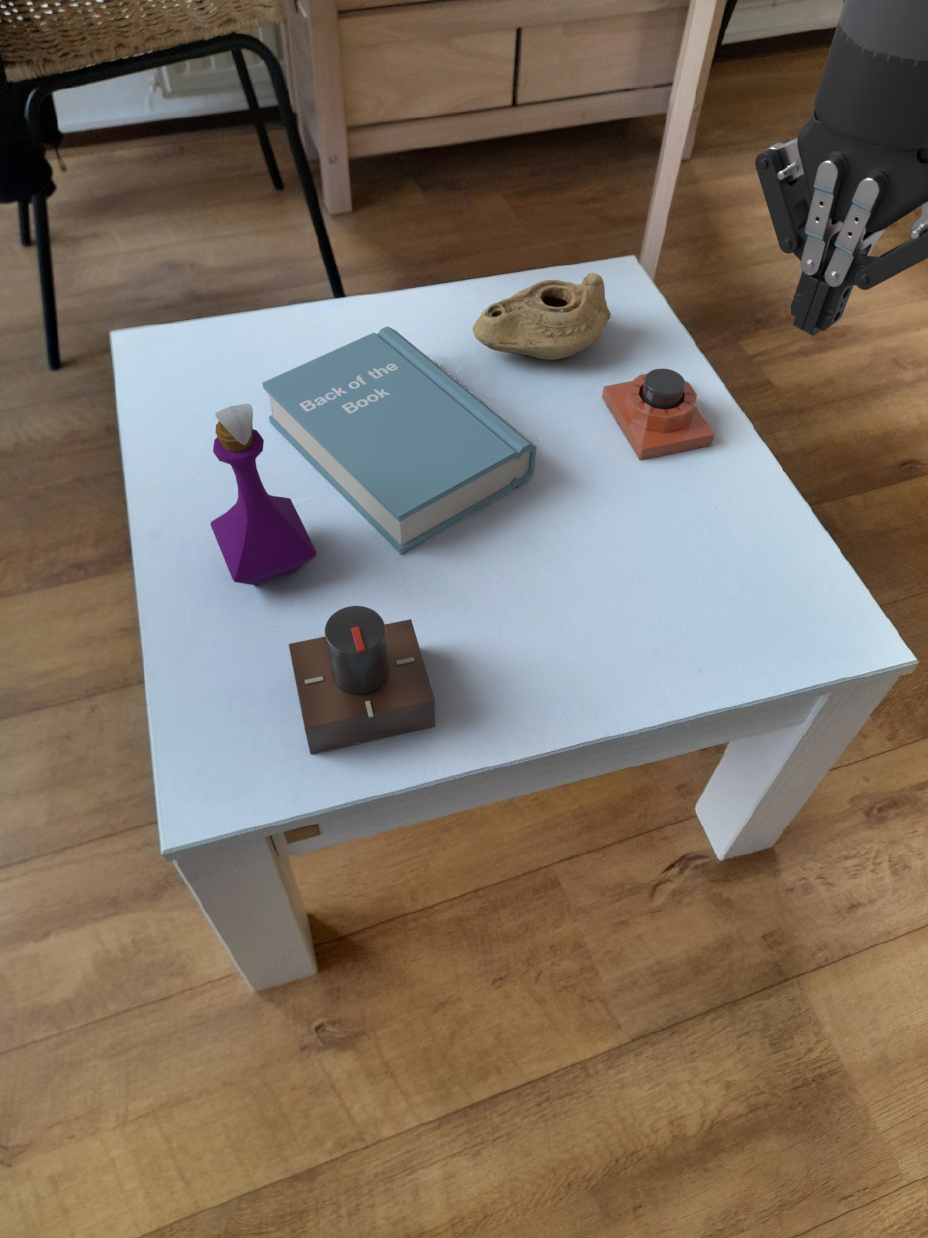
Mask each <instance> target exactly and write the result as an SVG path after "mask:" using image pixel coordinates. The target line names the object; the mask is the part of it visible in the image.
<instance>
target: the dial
mask: <svg viewBox="0 0 928 1238" xmlns="http://www.w3.org/2000/svg"><path fill="white" fill-rule="evenodd" d="M384 624H385V621H384V620H383V618H382V616H381V615H380V614H379V613H378V612H377V611H375V610H374V609H372V608H370V607H368V606H364V605H350V606H346V607H343V608H340V609H338V610H337V611H335V612H334V613H333V614H332V615H331V616H330V617H329V618H328V619H327V621H326V624H325V626H324V637H325V638H326V644H327V650H328V656H329V661H330V667H331V673H332V678H333V680H334V682H335V684H336V685H337V686H338V687H339V688H340V689H342V690H343V691H345V692H348V693H351V694H367V693H370V692H372V691H374V690H376V689H378V688H379V687H380V686H381V685H382V684H383V683H384V682H385V680H386V678H387V675H388V658H387V646H386V634H385V625H384Z"/></svg>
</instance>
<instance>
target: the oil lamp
mask: <svg viewBox="0 0 928 1238" xmlns="http://www.w3.org/2000/svg"><path fill="white" fill-rule="evenodd" d="M605 287H606V286H605V283H604V279H603V277H602V276H601V275H600V274H598V273H596V272H590V273H588V274H587V275H586V276H585V277H583V279H582V281H581V283H580V284H576V283H573V282H571V281H564V280H560V279H545V280H542V281H538V282H536V283H534V284H532V285H530V286H528V287H526V288H523V289H521V290H519V291H517V292H515V293H514V294H513V295H511V296H510V297H507V298H504V299H502V300H500V301H498V302H494V303H492V304H490V305H488V306H487V307H486V308H485V309H484V310H483V311H482V312H481V314H480V315H479V316H478V318H477V319H476V321H475V322H474V324H473V326H472V332H473V335H474V338H475V339H476V340H477V341H479V342H480V343H481V345H483V346H485V347H486V348H488V349H490V350H493V351H495V352H500V353H509V354H518V355H526V356H529V357H533V358H535V359H538V360H550V361H553V360H561V359H564V358H568V357H570V356H572V355H575V354H578V353H579V352H581V351H583V350H584V349H586V348H587V347H589V346H591V345H592V344H593V343H595V342H596V341H597V340H598V339H599V338H600V337H601V335H602V334H603V332H604V329H605V327H606V323H608V321H609V320H610V319H611V316H612V313H611V311H610V309H609V307H608V302H607V299H606V289H605Z"/></svg>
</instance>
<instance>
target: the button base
mask: <svg viewBox="0 0 928 1238" xmlns="http://www.w3.org/2000/svg"><path fill="white" fill-rule="evenodd" d="M648 373H649V372H647V373H641V374H639V375H637V377H635V378H634V379H632V380H630V381H625V382H620V383H619V382H618V383H613V384H609V385H604V386H603V389H602V395H601V398H602V400H603V401H604V403H605V405H606V407H607V409H608V410H609V412H610V414H611V416H613V419H614V420H615V421H616V424H617V425H618V426H619V428H620V430H621V432H622V433H623V435H624V437H625V438H626V440H627V442H628V444H629V445H630V447H631V448H632V450H633V452H634V453H635V455H636V456H637V458H638V460H639V461H643V460H647V459H652V458H658V457H662V456H667V455H671V454H675V453H680V452H681V453H682V452H685V451H690V450H695V449H701V448H705V447H709V446H710V447H711V446H712V445H713V443H714V439H715V435H716V434H715V432H714V431H713V429H712V428H711V426H710V425H709V424H708V422H707V420H706V419H705V417H704V416H703V415H702V413H701V412H700V410H699V408H698V407H697V397H698V395H697V392H696V391H695V390H694V388H693V386H692V385H691V384H690V382H689V381H687V380H685V379H684V381H685V387H684V391H683V395H682V399H681V402H680V404H679V405H678V406H677V407H675V408H672V409H667V410H664V409H658V408H653V407H652V406H650V405H648V404H646V403H645V402H644V401H643V399H642V389H643V385H644V380H645V377H646V375H647V374H648Z"/></svg>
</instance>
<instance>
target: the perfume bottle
mask: <svg viewBox="0 0 928 1238" xmlns="http://www.w3.org/2000/svg"><path fill="white" fill-rule="evenodd" d="M253 410H254V409H253V406H252V405H251V404H250V403H242V404H236V405H230V406H228V407H225V408H223V409H219V410H218V411H215V415H214V416H215V417H216V419H217V420H218V421H217V423H216V424H215V431H214V432H215V435H216V438H215V439H214V441H213V447H212V453H213V455H215V457H216V458H217V459H218V461H219V462H222V463H224V464H227V465H230V466H231V469H232V471H233V473H234V477H235V481H236V486H237V500H236V502H235V504H234V505H232V506H231V507H230V508H229V509H228V510H227V511H226V512H224V513H223V514H221V515H220V516H218V517H216V518H214V519H213V520H211V522H210V527H211V530H212V532H213V535H214V538H215V541H216V542H217V545H218V547H219V550H220V552H221V554H222V557H223V559H224V562H225V564H226V568H227V569H228V571H229V574H230V577H231V578H232V581H233V582H234V583H237V584H243V585H249V586H258V585H260V584H263V583H267V582H270V581H272V580H276V579H278V578H281V577H285V576H288V575H290V574H294V573H297V572H298V571H299V570H300V569H302V568H303V567H304V566H305V565H307V564H308V563H309V562H310V561H312V560H313V559H314V558H316V557H317V556H318V552H317V550H316V547H315V546H314V544H313V542H312V540H311V538H310V536H309V534H308V532H307V530H306V527H305V525H304V523H303V522H302V520H301V518H300V515H299V513H298V511H297V508H296V506H295V505H294V503H293V501H292V499H291V498H289V497H285V496H284V497H283V496H276V495H272V494H269V493H268V492H267V490H266V489H265V487H264V486H265V485H264V484H263V481H262V480H261V476H260V474H259V472H258V467H257V460H256V459H257V458H258V457H259V456H260V455H261V454H262V453H263V452H264V451H263V450H264V444H265V442H264V441H265V440H264V438H263V436H262V435H261V434H260V432H259V431H258V430H257V429H254V426H253V419H254V411H253Z"/></svg>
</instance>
